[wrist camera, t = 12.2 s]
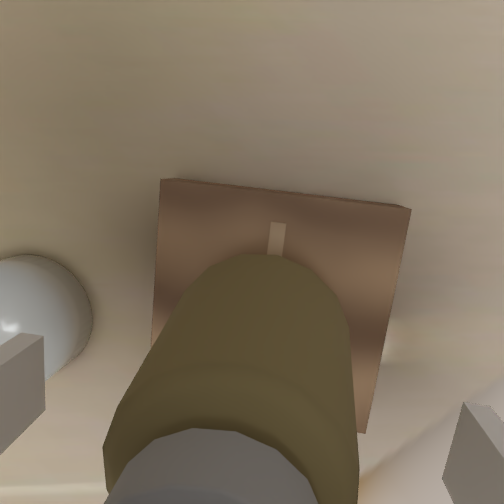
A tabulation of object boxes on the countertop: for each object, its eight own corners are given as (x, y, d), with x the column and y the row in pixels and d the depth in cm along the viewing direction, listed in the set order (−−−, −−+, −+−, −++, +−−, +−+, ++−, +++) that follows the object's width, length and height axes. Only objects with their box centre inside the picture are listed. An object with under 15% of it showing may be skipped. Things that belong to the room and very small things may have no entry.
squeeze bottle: (245, 208, 20) (-181, 498, 2) (372, 295, 20) (925, 1217, 2) (167, 325, 22) (-387, 978, 4) (284, 403, 22) (228, 1355, 4)
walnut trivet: (175, 178, 22) (159, 179, 20) (398, 205, 21) (412, 209, 19) (162, 374, 25) (147, 397, 23) (358, 407, 24) (365, 435, 22)
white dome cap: (-34, 266, 25) (-94, 282, 22) (72, 243, 24) (29, 255, 20) (3, 374, 27) (-47, 408, 23) (106, 358, 26) (72, 390, 22)
